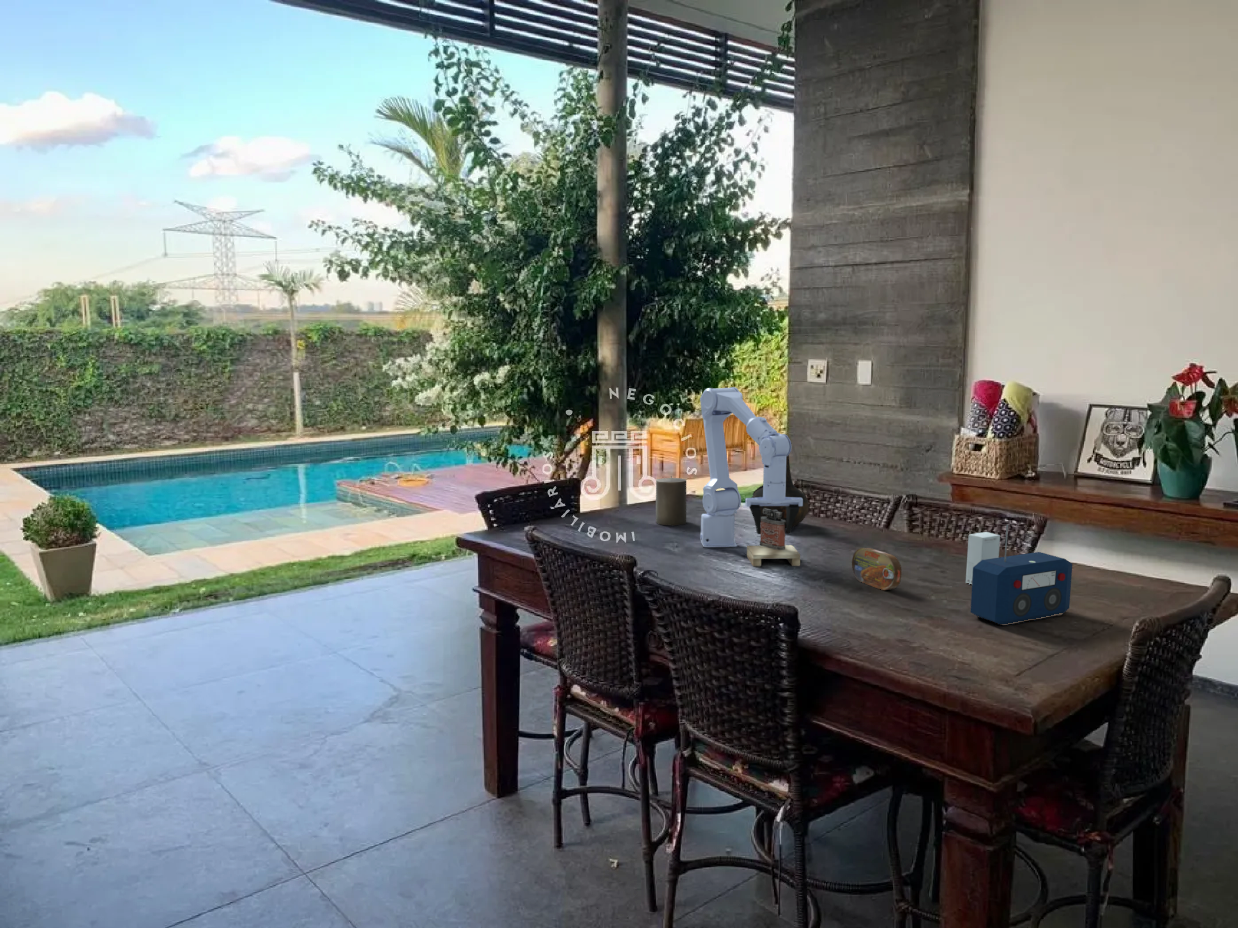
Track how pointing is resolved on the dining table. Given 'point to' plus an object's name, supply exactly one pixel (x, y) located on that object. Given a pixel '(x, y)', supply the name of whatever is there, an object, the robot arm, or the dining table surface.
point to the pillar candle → (671, 501)
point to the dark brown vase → (790, 492)
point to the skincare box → (981, 550)
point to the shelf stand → (772, 554)
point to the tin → (876, 568)
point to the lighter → (773, 530)
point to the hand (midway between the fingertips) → (773, 533)
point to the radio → (1020, 587)
